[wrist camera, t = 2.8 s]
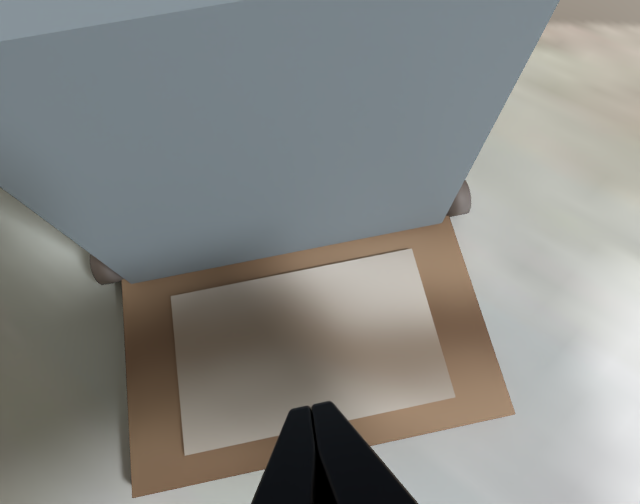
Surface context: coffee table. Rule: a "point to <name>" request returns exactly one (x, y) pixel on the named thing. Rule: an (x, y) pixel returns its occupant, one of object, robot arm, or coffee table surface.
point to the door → (248, 119)
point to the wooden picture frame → (303, 351)
